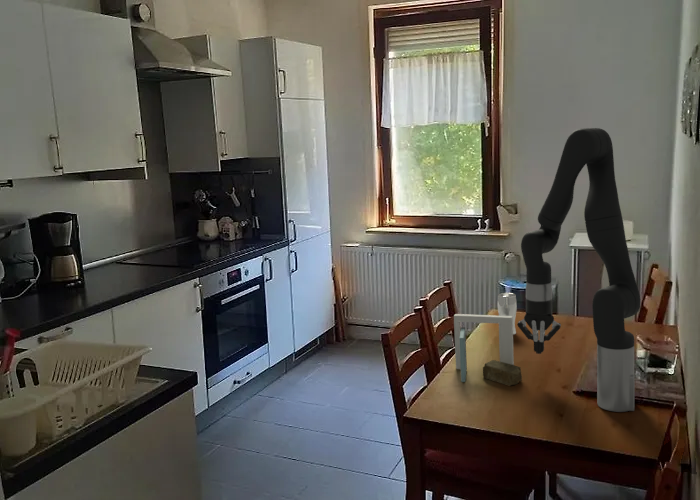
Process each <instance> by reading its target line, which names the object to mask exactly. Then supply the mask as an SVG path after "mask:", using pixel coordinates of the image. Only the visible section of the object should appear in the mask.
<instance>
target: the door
mask: <svg viewBox="0 0 700 500" xmlns="http://www.w3.org/2000/svg"><path fill="white" fill-rule="evenodd" d="M466 335H467V334H466V327H464V326H460V363H461V369H460V379H461V380H460V382H461V383H466V378H467V370H468V369H467V368H468V367H467V366H468V365H467V363H468V362H467V340H466Z"/></svg>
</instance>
